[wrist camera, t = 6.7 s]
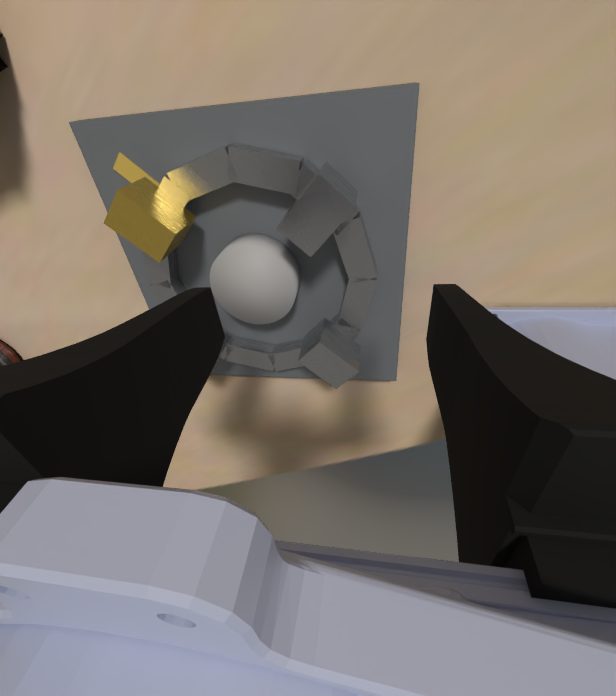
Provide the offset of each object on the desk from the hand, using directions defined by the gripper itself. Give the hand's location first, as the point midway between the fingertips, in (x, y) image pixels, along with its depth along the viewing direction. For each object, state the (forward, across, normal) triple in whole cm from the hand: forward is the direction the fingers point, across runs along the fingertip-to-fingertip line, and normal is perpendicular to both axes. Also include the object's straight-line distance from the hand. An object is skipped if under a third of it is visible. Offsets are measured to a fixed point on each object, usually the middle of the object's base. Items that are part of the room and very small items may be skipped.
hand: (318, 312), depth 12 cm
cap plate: (+10, +5, +3) cm, 12 cm away
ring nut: (+9, +5, +3) cm, 11 cm away
